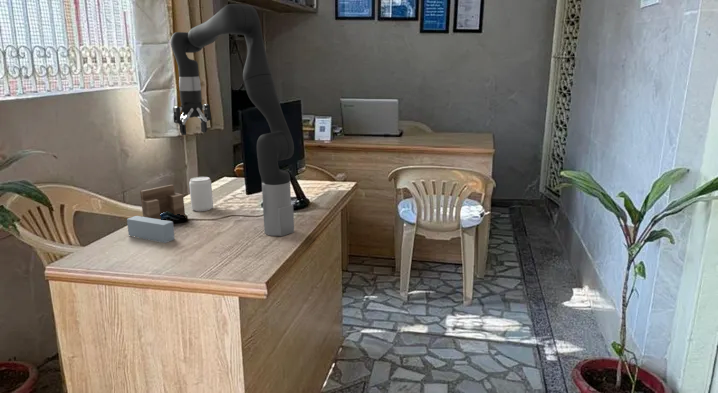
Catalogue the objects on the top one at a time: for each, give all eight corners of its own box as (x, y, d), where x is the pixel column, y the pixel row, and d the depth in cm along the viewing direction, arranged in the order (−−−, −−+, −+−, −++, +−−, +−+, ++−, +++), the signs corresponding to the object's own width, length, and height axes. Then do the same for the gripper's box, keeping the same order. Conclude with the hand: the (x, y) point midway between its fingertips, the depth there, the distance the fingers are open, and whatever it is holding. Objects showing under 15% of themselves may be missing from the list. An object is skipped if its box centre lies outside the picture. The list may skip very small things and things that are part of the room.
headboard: (185, 218, 193) (182, 186, 190) (150, 227, 183) (146, 193, 180) (176, 215, 197) (173, 184, 194) (141, 224, 187) (138, 191, 184)
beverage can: (209, 211, 201) (207, 181, 198) (188, 212, 202) (185, 181, 198) (215, 206, 209) (213, 176, 206) (195, 206, 209) (192, 176, 206)
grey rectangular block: (174, 239, 172) (172, 221, 170) (165, 243, 168) (163, 225, 167) (138, 232, 178) (136, 215, 177) (128, 236, 175) (126, 218, 173)
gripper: (178, 90, 187) (182, 136, 191) (212, 88, 197) (216, 132, 201) (166, 90, 191) (171, 134, 195) (201, 88, 202) (204, 130, 206)
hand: (194, 133), depth 198 cm, fingers open, 8 cm apart
